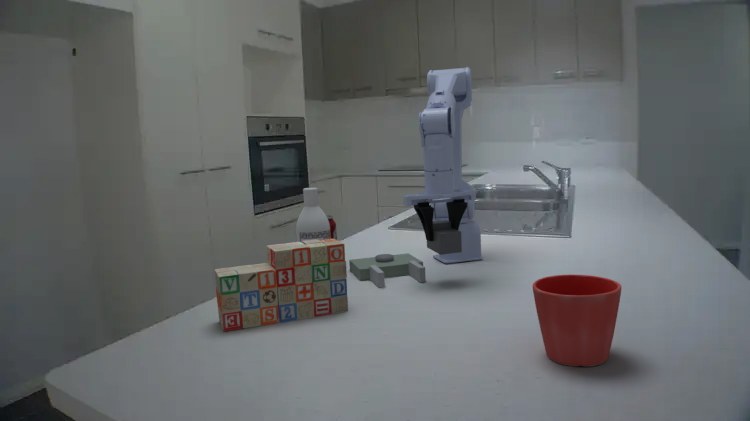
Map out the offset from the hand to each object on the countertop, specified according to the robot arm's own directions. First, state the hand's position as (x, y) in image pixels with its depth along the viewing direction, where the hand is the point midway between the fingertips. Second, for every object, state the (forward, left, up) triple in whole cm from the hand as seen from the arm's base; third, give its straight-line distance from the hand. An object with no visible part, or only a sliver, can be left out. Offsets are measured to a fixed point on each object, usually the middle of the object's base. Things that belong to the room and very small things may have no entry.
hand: (441, 239), depth 112 cm
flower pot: (-2, +41, -9) cm, 42 cm away
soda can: (+20, -24, -9) cm, 33 cm away
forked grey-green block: (+8, -11, -9) cm, 16 cm away
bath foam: (+24, -10, -9) cm, 27 cm away
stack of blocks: (+32, +8, -9) cm, 35 cm away
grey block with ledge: (0, +1, -2) cm, 2 cm away
